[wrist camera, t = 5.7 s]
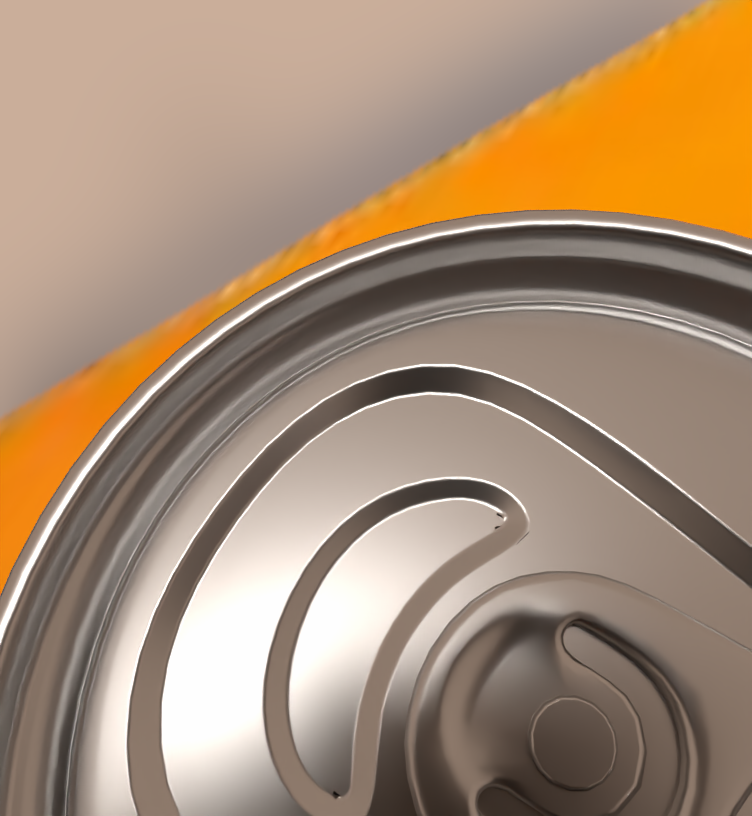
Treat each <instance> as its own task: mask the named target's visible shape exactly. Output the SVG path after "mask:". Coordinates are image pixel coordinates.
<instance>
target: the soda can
mask: <svg viewBox="0 0 752 816" xmlns="http://www.w3.org/2000/svg"><path fill="white" fill-rule="evenodd" d="M0 816H752V239H750V238H747V237H743V236H740V235H737V234H733V233H730V232H726V231H723V230H718V229H714V228H709V227H705V226H700V225H695V224H691V223H686V222H682V221H677V220H672V219H665V218H658V217H651V216H643V215H636V214H629V213H620V212H604V211H588V210H525V211H514V212H503V213H493V214H482V215H475V216H469V217H463V218H458V219H452V220H446V221H440V222H435V223H430V224H426V225H422V226H418V227H415V228H411V229H407V230H403V231H399V232H395V233H392V234H388V235H385V236H382V237H379V238H376V239H373V240H370V241H367V242H365V243H362V244H359V245H356V246H353V247H350V248H347V249H344V250H342V251H339V252H337V253H335V254H333V255H330V256H328V257H326V258H324V259H321V260H319V261H317V262H315V263H312V264H310V265H308V266H306V267H303V268H301V269H299V270H297V271H295V272H293V273H292V274H290V275H288V276H286V277H284V278H282V279H281V280H279V281H277V282H275V283H273V284H271V285H270V286H268V287H266V288H264V289H262V290H261V291H259V292H257V293H255V294H254V295H252V296H251V297H249V298H248V299H246V300H245V301H243V302H242V303H240V304H239V305H237V306H236V307H234V308H233V309H231V310H230V311H228V312H227V313H225V314H224V315H222V316H221V317H219V318H218V319H216V320H215V321H213V322H212V323H211V324H210V325H208V326H207V327H206V328H205V329H203V330H202V331H201V332H200V333H198V334H197V335H196V336H194V337H193V338H192V339H191V340H189V341H188V342H187V343H186V344H184V345H183V346H182V347H181V348H179V349H178V350H177V351H176V352H175V353H174V354H172V355H171V356H170V357H169V358H168V359H167V360H166V361H165V362H164V363H163V364H162V365H161V366H160V367H159V368H157V369H156V370H155V371H154V372H153V373H152V374H151V375H150V376H149V377H148V378H147V379H146V380H145V381H144V382H142V383H141V384H140V385H139V386H138V387H137V389H136V390H135V391H134V392H133V393H132V394H131V395H130V396H129V397H128V399H127V400H126V401H125V402H124V403H123V404H122V405H121V406H120V407H119V408H118V410H117V411H116V412H115V413H114V414H113V415H112V416H111V417H110V418H109V419H108V421H107V422H106V423H105V424H104V425H103V426H102V428H101V429H100V430H99V432H98V433H97V434H96V436H95V437H94V438H93V440H92V441H91V442H90V443H89V445H88V446H87V447H86V449H85V450H84V451H83V453H82V454H81V455H80V457H79V458H78V459H77V460H76V462H75V463H74V464H73V466H72V467H71V468H70V470H69V471H68V473H67V475H66V476H65V478H64V479H63V481H62V482H61V484H60V486H59V487H58V489H57V490H56V492H55V493H54V495H53V496H52V498H51V500H50V501H49V503H48V504H47V506H46V507H45V509H44V510H43V512H42V514H41V515H40V517H39V519H38V521H37V523H36V524H35V526H34V528H33V530H32V532H31V534H30V536H29V538H28V540H27V541H26V543H25V545H24V547H23V549H22V551H21V553H20V555H19V556H18V558H17V560H16V562H15V564H14V566H13V568H12V570H11V572H10V575H9V577H8V579H7V582H6V584H5V586H4V589H3V591H2V593H1V596H0Z"/></svg>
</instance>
